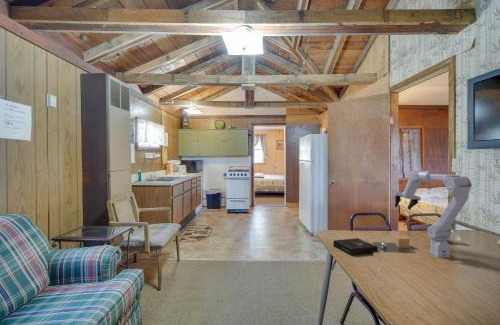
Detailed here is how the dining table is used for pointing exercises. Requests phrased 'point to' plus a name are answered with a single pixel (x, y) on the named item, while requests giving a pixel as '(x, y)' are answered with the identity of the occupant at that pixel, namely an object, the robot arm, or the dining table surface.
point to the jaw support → (454, 237)
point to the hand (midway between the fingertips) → (402, 207)
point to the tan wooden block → (402, 241)
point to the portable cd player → (355, 246)
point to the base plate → (391, 248)
